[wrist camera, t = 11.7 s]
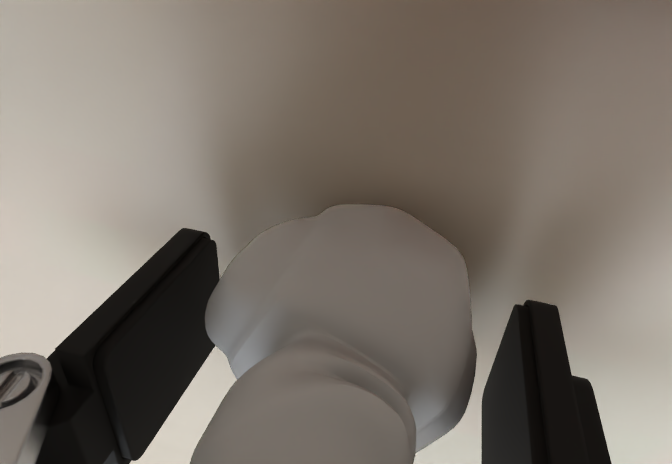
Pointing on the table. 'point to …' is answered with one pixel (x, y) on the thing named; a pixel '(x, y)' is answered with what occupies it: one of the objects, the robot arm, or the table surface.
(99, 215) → the table surface
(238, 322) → the grey swirl figurine
